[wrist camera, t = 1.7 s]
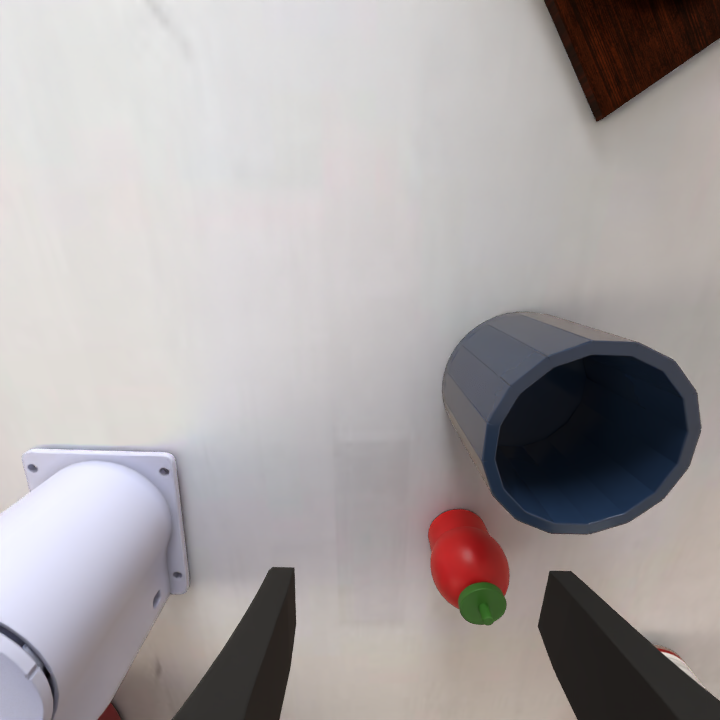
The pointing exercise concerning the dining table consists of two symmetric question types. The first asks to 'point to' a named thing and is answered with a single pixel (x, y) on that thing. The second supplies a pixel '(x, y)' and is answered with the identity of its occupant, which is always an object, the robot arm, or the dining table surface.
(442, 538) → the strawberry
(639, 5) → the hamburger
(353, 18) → the dining table surface
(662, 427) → the tumbler
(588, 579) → the dining table surface
